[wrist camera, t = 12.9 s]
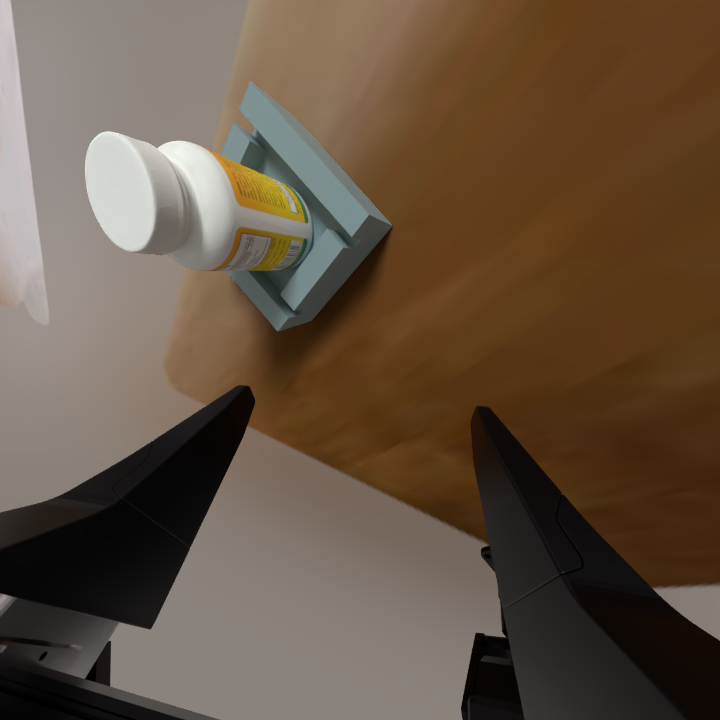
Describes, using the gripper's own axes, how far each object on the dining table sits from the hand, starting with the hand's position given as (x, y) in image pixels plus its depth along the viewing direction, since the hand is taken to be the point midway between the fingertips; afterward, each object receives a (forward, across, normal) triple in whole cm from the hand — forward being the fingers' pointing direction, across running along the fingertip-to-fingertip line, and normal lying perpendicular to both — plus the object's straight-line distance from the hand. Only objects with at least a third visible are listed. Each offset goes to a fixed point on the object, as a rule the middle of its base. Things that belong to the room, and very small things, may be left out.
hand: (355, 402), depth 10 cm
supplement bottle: (+12, +7, -4) cm, 14 cm away
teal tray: (+15, +6, -3) cm, 16 cm away
